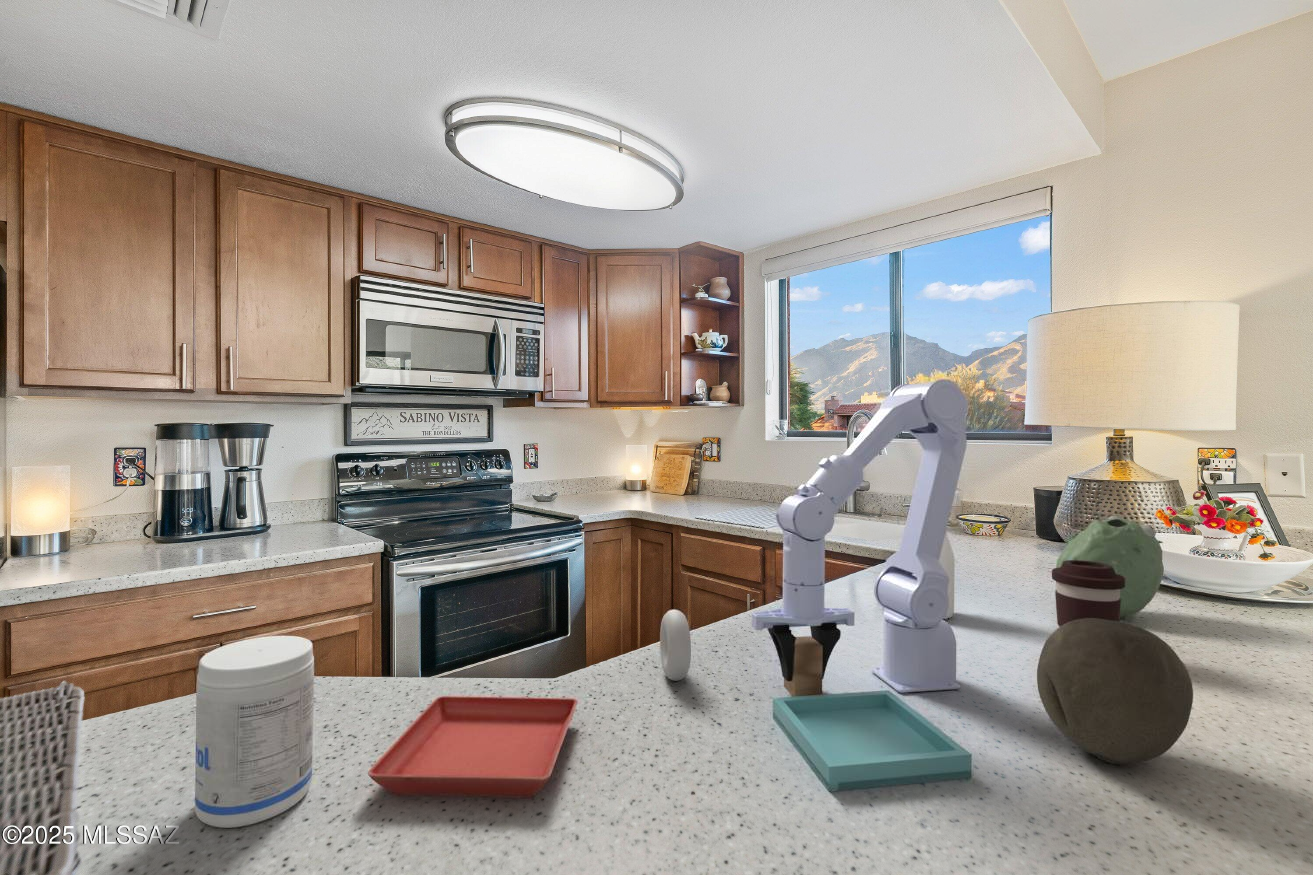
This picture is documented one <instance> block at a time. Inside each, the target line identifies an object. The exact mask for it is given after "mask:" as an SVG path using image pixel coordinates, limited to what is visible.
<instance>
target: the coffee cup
mask: <svg viewBox="0 0 1313 875" xmlns="http://www.w3.org/2000/svg"><path fill="white" fill-rule="evenodd" d="M1051 579H1052V580H1054V581H1055V585H1056V586H1055V587H1056V589H1055V591H1054V593H1055V594H1054V595H1055V597H1054V598H1055V605H1056V606H1055V607H1056V622H1057V626H1058V628H1059V627H1060V626H1062V625H1064V624H1065V623H1068V622H1070V621H1073V620H1077V619H1083V618H1097V619H1105V620H1110V621H1120V618H1119V616H1120V606H1121V599H1120V589H1122V588H1124V587H1125V578H1124V577H1123V576H1121V575H1119V574H1116V573H1115V571H1114V568H1113V567H1112V566H1110V565H1108V564H1104V563H1099V562H1093V561H1084V560H1067V561H1064V562H1063V563H1062V565H1061V567H1059V568H1056V567H1055V568H1052V569H1051Z"/></svg>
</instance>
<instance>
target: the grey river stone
mask: <svg viewBox="0 0 1313 875" xmlns="http://www.w3.org/2000/svg"><path fill="white" fill-rule="evenodd" d="M1049 635H1050V636H1049V637H1048V638H1047V639H1046V640H1045V642H1044V643H1043V647H1042V650H1041V652H1040V655H1039V659H1038V663H1037V669H1036V683H1037V685H1036V686H1037V690H1038V691H1037V692H1038V695H1039V698H1040V701H1041V703H1042V705H1043V708H1044V710H1045V711H1046V714H1047V715H1048V717H1049V719H1050V720H1051V721H1052V723H1053V725H1054V726H1055V728H1057V729H1058V731H1059V732H1060V733H1061V734H1062V735H1063V736H1064V738H1066V739H1067V740H1068V741H1069V742H1070V743H1071V744H1072V745H1074V746H1076V747H1078V748H1081V749H1082V750H1084V751H1085V752H1088V753H1089V754H1091V755H1093V756H1095V757H1096V758H1098V759H1100V760H1102V761H1105V762H1108V763H1111V764H1116V765H1121V766H1122V765H1123V766H1126V765H1129V766H1131V765H1137V764H1143V763H1145V762H1148V761H1150V760H1153V759H1156V758H1158V757H1159V756H1162V755H1163V754H1164V753H1167V752H1168V751H1169V750H1170V749H1171V748H1172V747H1173V745H1175V743H1176V742H1177V741H1178V739H1180V737H1181V736H1182V735H1183V733H1184V731H1185V730H1186V729H1187V726H1188V722H1189V721H1190V717H1191V713H1192V707H1193V702H1194V688H1193V682H1192V679H1191V675H1190V673H1189V671H1188V669H1187V666H1186V665H1185V664H1184V662H1183V661H1182V660H1181V659H1180V657H1179V656H1178V654H1177V653H1176V652H1175V650H1174V649H1173V648H1172V647H1171V646H1170V645H1169V644H1168V643H1167V642H1166V641H1165V640H1163V639H1162V638H1160V637H1159V636H1157V635H1156V634H1154V633H1153V632H1151V631H1149V630H1146V629H1145V628H1142V627H1140V626H1137V625H1133V624H1130V623H1128V622H1124V621H1120V620H1119V621H1110V620H1105V619H1097V618H1083V619H1077V620H1073V621H1070V622H1068V623H1065V624H1064V625H1062V626H1060V627H1059V626H1058V628H1056V629H1055V631H1054V632H1052V633H1051V634H1049Z"/></svg>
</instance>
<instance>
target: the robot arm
mask: <svg viewBox="0 0 1313 875" xmlns="http://www.w3.org/2000/svg"><path fill="white" fill-rule="evenodd" d="M969 405H970V401H969V400H968V398H967V397H966V395H965V394H964V392H963V391H962V389H961V388H960V387H959V385H958V384H957V383H956V382H954V381H952V380H950V379H948V378H947V379H946V378H942V379H936V380H934V381H927V382H918V383H912V384H911V383H903V384H900V385H897V386H896V387H895V388H894V389H893V390H892V391H891V393H890V394H889V395H888V396H887V397H885V398H884V399H883V400H882V401H881V403H880V408H879V409H878V410H877V412H876V413H875V414H874V415H873V417H872V418H871V419H870V420H869V422H868V423H867V424H866V425H865V426H864V428H863V429H862V430H861V432H860V433H859V435H858V436H857V437H856V438H855V439H854V441H853V442H852V443H851V444H850V446H849V447H848V448H847V449H846V451H845V452H844V453H843V454H833V455H830V456H829V457H828V458H824V457H823V458H822V459H821V460H820V462H819V463H818V466H819V469H817V471H816V472H815V473H814V474H813V475H812V476H811V478H809V480H808V481H807V482H806V483H805V484H800V486H799V487H797V491H798V493H797V494H793V495H789V496H788V497H786V498H785V499H784V500H783V501H782V502H781V504H780V506H779V511H778V512H777V513H775V519H776V520H775V521H776V523H777V525H778V527H779V528H780V529H781V530H782V534H783V535H782V538H783V539H782V540H783V542H782V546H783V547H782V607H780V608H774V609H769V610H763V611H755V612H753V611H752V612H751V627H752V628H753V629H754V630H755V631H763V630H764V629H766V630H767V631H768V633H769V636H770V638H771V640H772V641H773V644H774V647H775V650H776V653H777V656H778V660H779V664H780V667H781V668H780V669H781V676H782V677H783V679H784V678H785V679H786V680H787V681H792V678H793V652H794V645H795V641H796V637H797V636H795V635H794V634H793V633H792V629H790V628H796V627H798V628H799V627H810V636H811V637H812V638H813V639H815V640H816V641H817V642H818V643H820V644H821V645H822V646H823V660H822V680H824V678H825V673H826V669H827V666H828V662H829V660H830V656H831V655H832V652H833V650H834V648H835V646H836V645H837V643H838V642H839V641H840V638H841V633H842V632H841V630H840V628H838V625H839V626H841V625H845V626H847V627H854V626H855V615H856V614H855V612H854V611H853V610H852V609H850V608H848V607H847V608H838V607H837V608H836V607H835V608H834V607H825V592H826V591H825V590H826V589H825V585H826V584H825V576H826V575H825V574H826V573H825V571H826V570H825V569H826V567H825V565H826V564H825V563H826V562H825V561H826V560H825V559H826V558H825V557H826V551H825V550H826V541H825V540H826V535H828V534H829V533H830V532H832V529H833V527H834V524H835V516H836V514H837V512H838V511H839V510H840V509H841V508H842V506H843V505H844V504H845V503H846V502H847V500H848V499H849V498H850V497H852V495H853V494H854V493H855V492H856V491H857V489H858V488H859V487H860V486H861V485H862V484H863V482H864V473H863V472H864V471H863V470H864V469H865V468H866V467H867V466H868V465H870V463H871V462H872V461H873V460H874V459H875V458H876V457H877V456H878V455H879V454H880V453H881V452H883V450H884V449H885V448H886V447H887V446H888V445H889V444H890V443H891V442H892V441H893V440H895V438H896V437H897V436H898V435H899V434H901V433H902V432H907V433H909V434H910V435H912V436H913V437H914V438H915V439H916V440H917V441H918V443H919V444H920V446H921V447H922V449H923V451H922V456H921V461H920V464H919V469H918V472H917V475H916V481H915V484H914V488H913V492H912V497H911V501H910V504H909V505H910V506H909V508H908V514H907V516H906V517H907V518H906V521H905V526H904V528H903V529H904V530H903V533H902V537H901V542H900V546H899V549H898V550H897V551H896V552H895V553H893V554H892V555H890V556H889V557H887V559H886V560H885V565H884V568H883V570H882V571H881V572H880V574H879V575H878V576H877V578H876V580H875V582H874V584H873V585H874V586H873V593H874V598H875V600H876V601H877V603H878V604H879V605H880V606H881V608H882V609H881V614H883V646H882V647H883V649H882V650H883V652H882V654H883V657H882V659H883V661H882V662H883V665H882V666H883V667H880V666H879V667H872V668H871V672H872V674H874V675H875V676H877V677H878V678H879V679H881V680H882V681H883V682H884V683H886V684H887V685H889V686H890V687H892V689H894V690H895V691H897V692H899V693H916V692H927V691H929V692H930V691H944V690H957V689H958V690H959V689H960V688H961V686H960V684H959V683H957V640H956V635H955V632H954V629H953V628H952V627H951V625H950V624H949V623H948V622H947V621H946V620H943V619H944V617H945V616H946V614H947V612H948V608H949V598H948V591H947V588H948V583H949V577H948V575H947V573H946V572H945V570H944V569H943V567H942V565H941V564H940V562H939V558H940V554H941V550H942V545H943V541H944V537H945V533H947V529H948V524H949V520H950V515H951V511H952V507H953V503H954V501H955V500H954V499H955V495H956V491H957V487H958V482H959V478H960V475H961V470H962V466H963V462H964V457H965V453H966V450H967V441H968V440H967V433H966V432H967V431H966V423H965V422H966V416H967V413H968V410H969V409H968V408H969ZM913 574H915V575H916V576H913Z"/></svg>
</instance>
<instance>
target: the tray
mask: <svg viewBox="0 0 1313 875" xmlns="http://www.w3.org/2000/svg"><path fill="white" fill-rule="evenodd" d="M772 719H773V720H774V722H775V723H776V724H777V725H778V726H779V728H780V729H781V731H783V734H785V736H786V737H787V739H789V741H790V742H791V744H792V745H793V746H794V747H795V749H796V751H797V752H798V753H799V754H800V756H801V757H802V758H803V759H804V761H805V762H806V764H808V765H807V766H809V767H810V769H811V770H812V771H813V773H814V774H815V775H816V777H817V778H818V779H819V780H820V782H821V783H822V784H823V786H824V787H825V789H826V790H827V791H828V792H836V791H848V790H850V791H851V790H857V789H869V788H878V787H879V788H880V787H890V786H900V785H911V784H919V783H921V784H923V783H933V782H934V783H935V782H942V781H953V780H955V781H956V780H963V779H964V780H965V779H972V774H973V773H972V766H973V765H972V763H973V761H972V760H973V759H972V758H973V755H972V753H971V752H969V751H968V750H967V749H965V747H963V746H962V745H960V744H959V743H958V742H956V740H954V739H953V738H951V737H950V736H948V734H946V733H945V732H944V731H943V730H941V729H940V728H938V727H937V726H936V725H934V724H933V723H932V722H930V721H929V720H928V719H926V717H924V716H923V715H922V714H920V713H919V712H918V711H916V710H915V709H914V708H912V707H911V706H910V705H908V703H906V702H905V701H904V700H902V699H901V698H900V697H898V696H897V695H896V694H894V692H892V691H890V690H888V689H887V690H876V691H875V690H874V691H873V690H871V691H859V692H844V693H842V692H841V693H828V694H827V693H826V694H822V695H811V696H796V697H793V696H786V697H785V696H783V697H782V696H781V697H773V698H772Z"/></svg>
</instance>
